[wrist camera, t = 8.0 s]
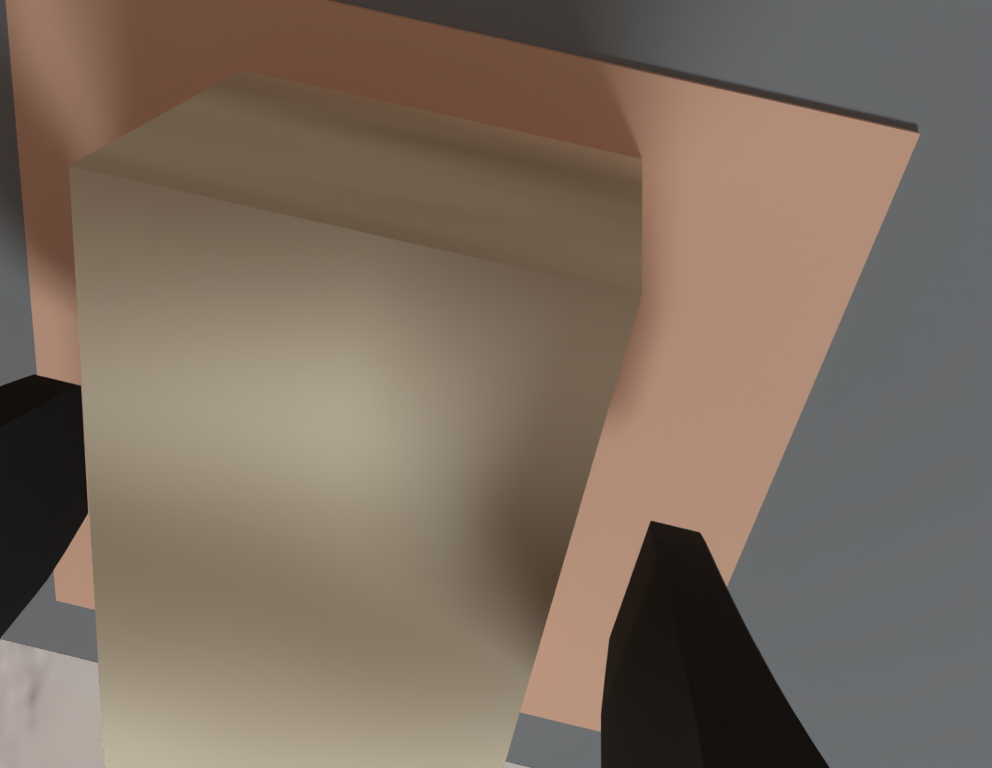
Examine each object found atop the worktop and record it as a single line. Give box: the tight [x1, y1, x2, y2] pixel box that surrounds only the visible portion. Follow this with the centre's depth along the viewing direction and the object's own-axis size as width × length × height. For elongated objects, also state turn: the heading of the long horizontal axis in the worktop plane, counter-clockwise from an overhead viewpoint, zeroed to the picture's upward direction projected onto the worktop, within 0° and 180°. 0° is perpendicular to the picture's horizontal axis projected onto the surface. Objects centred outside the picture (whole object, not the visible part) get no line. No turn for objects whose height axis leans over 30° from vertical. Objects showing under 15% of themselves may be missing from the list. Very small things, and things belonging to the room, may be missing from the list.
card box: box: [69, 70, 642, 768], centre depth 12 cm, size 9×5×4 cm, turn 170°
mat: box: [0, 0, 992, 768], centre depth 12 cm, size 20×22×1 cm
